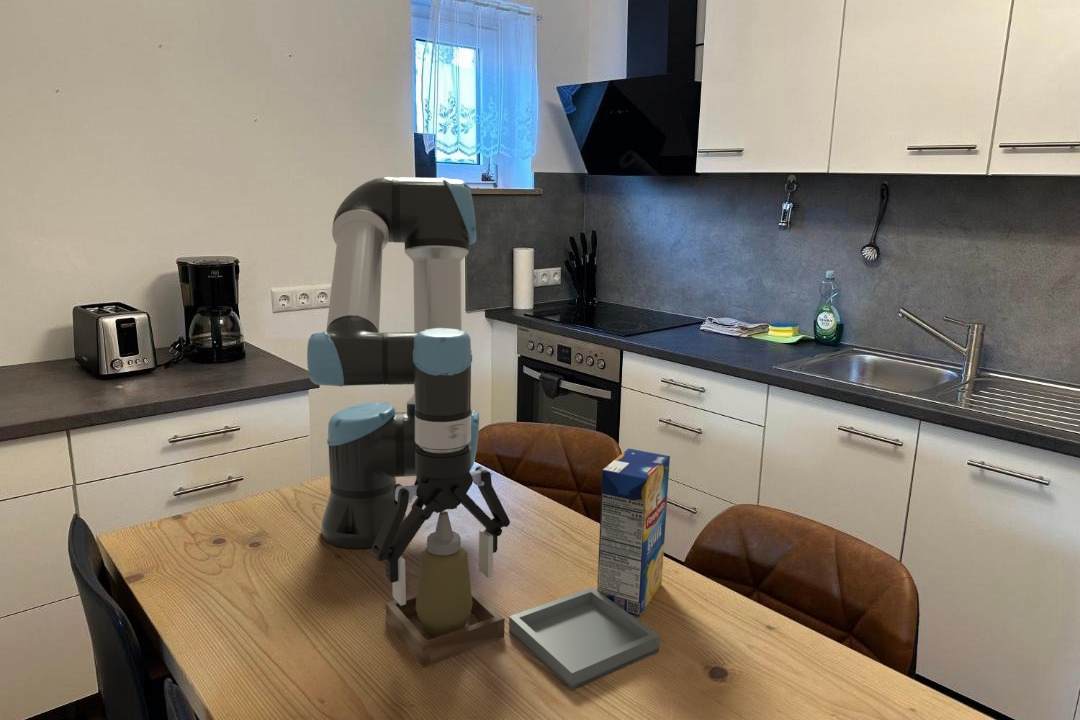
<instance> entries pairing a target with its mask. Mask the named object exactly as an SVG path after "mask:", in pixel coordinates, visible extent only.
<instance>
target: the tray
mask: <svg viewBox="0 0 1080 720" xmlns="http://www.w3.org/2000/svg"><path fill="white" fill-rule="evenodd" d="M508 619H509V620H508V633H509V634H511V636H513V638H515V639H516V640H517V641H518V642H519V643H520V644H521V645H523V647H524V648H525V649H527V650H528V652H529V653H531V655H533V656H534V657H535V658H536V659H537V660H538V661H539V662H541V664H543V666H545V667H546V668H547V669H548V670H549V671H550V672H551V673H552V674H553V675H554V676H556V678H557V679H559V680H560V682H562V683H563V684H564V685H565V686H566V687H567V688H568V689H569V690H570V691H573V690H576V689H578V688H581V687H583V686H585V685H587V684H589V683H591V682H595V681H596V680H599V679H601V678H603V677H606V676H608V675H610V674H612V673H615V672H617V671H619V670H621V669H623V668H625V667H627V666H630V665H633V664H634V663H637V662H640V661H641V660H644V659H646V658H648V657H651V656H654V654H657V653H659V652H660V638H661V636H660V635H659V634H658V633H657V632H655V631H654V630H652V629H651V628H649V627H648V626H647V625H646V624H644V623H643V622H641V621H640V620H639V619H638V618H636V617H635V616H633V615H630V614H629V613H627V612H626V611H625V610H623V609H622V608H620V607H619V606H618V605H616V604H615V603H614V602H612V601H611V600H609V599H608V598H607V597H605V596H604V595H602V594H601V593H600V592H598V591H597V588H596V589H595V588H594V587H593V586H592V587H589V588H586V589H583V590H580V591H578V592H575V593H571V594H568V595H566V596H563V597H560V598H558V599H554V600H552V601H549V602H546V603H544V604H541V605H538V606H535V607H532V608H529V609H527V610H523V611H521V612H517V613H514V614H512V615H509V616H508Z"/></svg>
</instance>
